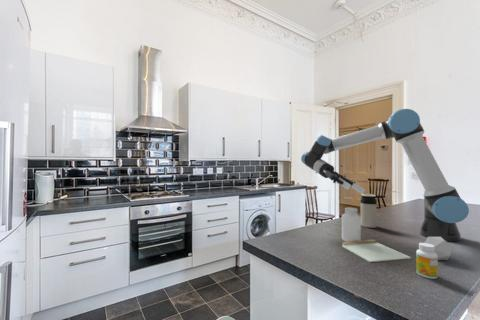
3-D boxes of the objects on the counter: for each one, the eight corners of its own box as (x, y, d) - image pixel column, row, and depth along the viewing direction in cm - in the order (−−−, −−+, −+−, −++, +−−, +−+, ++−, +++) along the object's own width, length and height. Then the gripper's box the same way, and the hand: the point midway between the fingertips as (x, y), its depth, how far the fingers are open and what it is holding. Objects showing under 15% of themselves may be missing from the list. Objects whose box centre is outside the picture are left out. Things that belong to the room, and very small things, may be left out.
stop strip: (342, 245, 100) (342, 241, 100) (373, 243, 103) (373, 239, 103) (343, 246, 99) (343, 242, 99) (375, 243, 102) (375, 240, 102)
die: (456, 267, 81) (461, 242, 84) (431, 253, 82) (438, 229, 85) (437, 265, 88) (443, 243, 91) (415, 253, 90) (421, 231, 93)
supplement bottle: (411, 271, 76) (411, 241, 76) (426, 270, 76) (426, 241, 77) (426, 279, 71) (426, 247, 71) (442, 278, 71) (442, 247, 71)
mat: (341, 246, 98) (341, 245, 98) (377, 243, 102) (377, 242, 102) (369, 262, 83) (369, 260, 83) (411, 258, 86) (411, 257, 86)
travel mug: (363, 227, 127) (363, 195, 128) (358, 224, 135) (358, 193, 136) (379, 228, 126) (378, 195, 126) (373, 224, 134) (373, 194, 134)
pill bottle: (359, 238, 108) (359, 207, 109) (362, 244, 101) (362, 210, 101) (340, 237, 111) (340, 206, 111) (342, 242, 103) (342, 209, 104)
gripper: (332, 179, 132) (364, 200, 115) (306, 169, 118) (338, 192, 101) (339, 167, 130) (373, 187, 114) (313, 157, 116) (347, 178, 99)
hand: (356, 190), depth 107 cm, fingers open, 13 cm apart
